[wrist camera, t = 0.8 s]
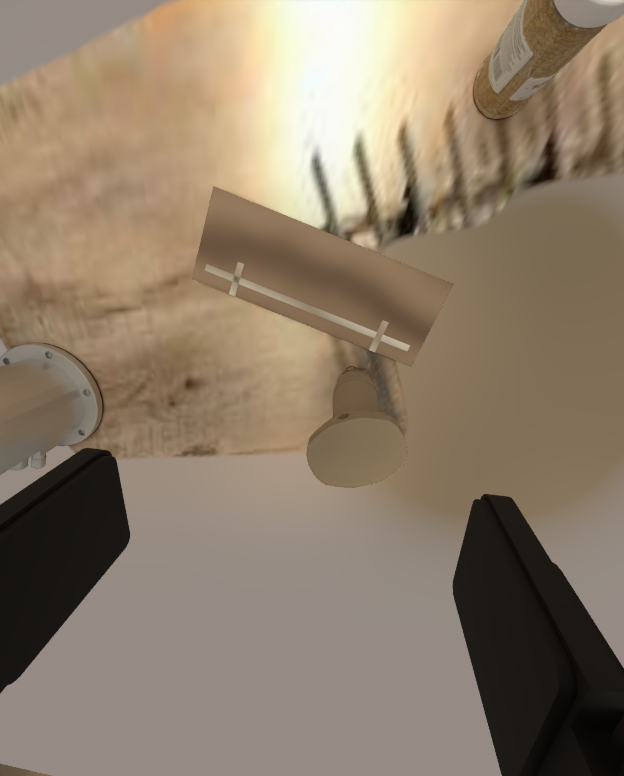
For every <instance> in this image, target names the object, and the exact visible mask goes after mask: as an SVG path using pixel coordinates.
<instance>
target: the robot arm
mask: <svg viewBox="0 0 624 776" xmlns="http://www.w3.org/2000/svg"><path fill="white" fill-rule="evenodd" d="M101 416H102V400H101V396H100V392H99V389H98V387H97V385H96V382H95V381H94V379H93V378H92V376H91V374H90V373H89V372H88V371H87V369H86V368H85V367H84V366H83V365H82V364H81V363H80V362H79V361H78V360H77V359H76V358H74V357H73V356H72V355H70V354H69V353H67V352H65V351H64V350H62V349H59V348H57V347H55V346H52V345H48V344H44V343H29V344H24V345H20V346H17V347H13V348H12V349H10V350H8V351H7V352H6V353H4V354H3V355H2V356H1V358H0V475H1V474H2V473H4V472H6V471H7V470H9V469H11V470H22V469H24V468H26V467H27V466H28V458H29V457H30V456H32V459H31V467H33V468H36V469H38V468H42V467H44V466H45V463H46V452H47V451H49V450H51V449H52V448H54V447H55V446H57V445H59V446H66V445H73V444H76V443H79V442H81V441H82V440H84V439H86V438H87V437H89V436H90V435H91V434H92V433H93V432H94V431H95V430H96V428H97V427H98V425H99V423H100V420H101ZM129 539H130V530H129V525H128V520H127V514H126V509H125V504H124V499H123V494H122V488H121V483H120V477H119V472H118V467H117V461H116V459H115V458H114V457H112V454H111V453H110V452H109V451H107V450H100V449H92V448H84V449H82V450H80V451H79V452H77V453H76V454H75V455H73V456H72V457H70V458H69V459H67V460H66V461H64V462H63V463H61V464H60V465H58V466H57V467H56V468H54V469H53V470H51V471H50V472H48V473H46V474H45V475H44V476H42V477H41V478H39V479H38V480H36V481H35V482H33V483H32V484H30V485H29V486H27V487H26V488H24V489H23V490H21V491H20V492H19V493H17V494H16V495H14V496H13V497H11V498H10V499H8V500H7V501H5V502H4V503H2V504H1V505H0V693H1V692H2V691H3V689H4V688H5V687H6V686H7V685H9V684H12V683H13V682H14V681H16V680H17V679H18V678H19V677H20V676H21V674H22V673H23V672H24V671H25V670H26V669H27V667H28V666H29V665H30V664H31V662H32V661H33V660H34V659H35V658H36V656H37V655H38V654H39V652H40V651H41V650H42V649H43V648H44V647H45V645H46V644H47V643H48V642H49V640H50V639H51V638H52V637H53V636H54V634H55V633H56V632H57V631H58V630H59V628H60V627H61V626H62V625H63V623H64V622H65V621H66V620H67V618H68V617H69V616H70V615H71V614H72V613H73V611H74V610H75V609H76V608H77V606H78V605H79V604H80V603H81V602H82V600H83V599H84V598H85V597H86V595H87V594H88V593H89V592H90V591H91V589H92V588H93V587H94V586H95V585H96V583H97V582H98V581H99V580H100V578H101V577H102V576H103V575H104V574H105V572H106V571H107V570H108V569H109V567H110V566H111V565H112V564H113V563H114V561H115V560H116V559H117V558H118V557H119V555H120V554H121V553H122V552H123V550H124V549H125V548H126V546H127V544H128V542H129ZM453 595H454V600H455V603H456V607H457V611H458V614H459V618H460V622H461V626H462V629H463V633H464V637H465V640H466V644H467V648H468V651H469V655H470V659H471V662H472V666H473V670H474V674H475V678H476V681H477V685H478V689H479V692H480V696H481V700H482V704H483V707H484V711H485V715H486V718H487V722H488V726H489V729H490V733H491V737H492V741H493V745H494V748H495V752H496V756H497V759H498V763H499V767H500V770H501V774H502V776H624V668H623V667H622V665H621V663H620V662H619V661H618V659H617V657H616V656H615V654H614V652H613V651H612V649H611V648H610V646H609V645H608V643H607V642H606V640H605V638H604V637H603V635H602V634H601V632H600V631H599V629H598V627H597V626H596V624H595V623H594V621H593V619H592V618H591V616H590V615H589V613H588V612H587V610H586V609H585V607H584V605H583V604H582V602H581V601H580V599H579V598H578V596H577V595H576V593H575V591H574V590H573V588H572V587H571V585H570V583H569V582H568V581H567V579H566V577H565V576H564V574H563V572H562V571H561V570H560V569H559V568H558V566H557V565H556V564H554V563H553V562H552V561H551V560H550V558H549V556H548V555H547V553H546V552H545V550H544V548H543V547H542V545H541V544H540V542H539V540H538V539H537V537H536V536H535V535H534V532H533V531H532V529H531V528H530V526H529V524H528V523H527V521H526V520H525V518H524V517H523V515H522V513H521V512H520V510H519V508H518V507H517V505H516V504H515V502H514V501H513V499H512V498H510V497H506V496H498V495H489V494H484V495H483V496H482V497H481V500H479V499H476V500H474V501H473V504H472V508H471V512H470V516H469V520H468V524H467V528H466V532H465V536H464V540H463V544H462V548H461V551H460V556H459V559H458V563H457V567H456V571H455V575H454V579H453ZM0 776H50V775H46V774H42V773H38V772H33V771H29V770H25V769H20V768H16V767H12V766H7V765H3V764H0Z"/></svg>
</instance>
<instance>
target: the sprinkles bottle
mask: <svg viewBox="0 0 624 776" xmlns="http://www.w3.org/2000/svg"><path fill="white" fill-rule="evenodd" d="M622 15H624V0H524V2H523V3H522V5H521V6H520V8H519V9H518V11H517V12H516V14H515V15H514V17H513V18H512V20H511V22H510V23H509V25H508V26H507V28H506V29H505V31H504V33H503V34H502V36H501V37H500V39H499V40H498V42H497V44H496V46H495V48H494V50H493V52H492V53H491V54H490V55H489V56H488V57H487V59H486V60H485V61H484V62H483V64H482V65H481V67H480V69H479V70H478V73H477V76H476V79H475V84H474V99H475V102H476V105H477V107H478V108H479V110H480V111H481V112H482V113H483V114H484V115H485V116H486V117H489V118H492V119H500V118H507V117H509V116H511V115H513V114H514V113H516V112H518V111H519V110H520V109H521V108H522V107H523V106H524V105H525V104H526V103H527V102H528V100H529V99H530V98H531V97H532V96H533V95H534V94H535V93H537V92H538V91H539V90H540V89H541V88H542V87H543V86H544V85H545V84H547V83H548V82H549V81H550V80H551V79H552V78H553V77H554V76H555V75H556V74H557V73H558V72H559V71H560V70H561V69H562V68H563V67H564V66H565V65H566V64H567V63H568V62H570V61H571V60H572V59H573V58H574V57H575V56H576V55H577V54H578V53H579V52H580V51H581V50H582V49H583V48H584V47H585V45H586V44H587V43H588V42H589V41H590V40H591V39H592V38H594V37H595V36H596V35H597V34H598V33H599V32H600V31H601V30H602V29H603V28H604V27H605V26H606V25H607V24H608V23H611V22H613V21H615V20H616V19H618V18H619V17H621V16H622Z"/></svg>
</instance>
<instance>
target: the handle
mask: <svg viewBox="0 0 624 776" xmlns="http://www.w3.org/2000/svg"><path fill="white" fill-rule="evenodd" d="M406 457H407V446H406V442H405V438H404V435H403V433H402V430H401V428H400V426H399V425H398V423H397V422H396V421H395V420H394V419H393V418H392V417H391V416H390V415H388V414H387V413H382V412H378V397H377V391H376V388H375V385H374V383H373V381H372V379H371V378H370V376H369V375H368V372H367V371H366V370H365V369H357V368H354V367H353V366H351V367H348V368H347V369H346V372H345V373H344V374H342V376H340V378H339V379H338V382H337V384H336V387H335V390H334V395H333V418H332V419H330V420H329V421H327V422H326V423H325V424H323V425H322V426H321V427H320V428H319V429H318V430H317V431H316V432H315V433H314V434H313V435H312V436H311V437H310V439H309V443H308V447H307V460H308V463H309V466H310V468H311V470H312V472H313V474H314V475H315V476H316V478H317V479H318V480H320V481H321V482H322V483H324V484H325V485H329V486H337V487H345V488H354V487H360V486H365V485H368V484H373V483H376V482H379V481H382V480H384V479H385V478H387V477H389V476H390V475H391V474H392V473H394V472H395V471H397V470H398V469H399V468H400V467H401V466H403V465H404V464H405V461H406Z"/></svg>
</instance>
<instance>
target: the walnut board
mask: <svg viewBox="0 0 624 776" xmlns="http://www.w3.org/2000/svg"><path fill="white" fill-rule="evenodd" d="M192 279H193V280H196V281H198V282H201V283H203V284H206V285H208V286H211V287H213V288H216V289H218V290H221V291H223V292H226V293H228V294H230V295H232V296H236V297H238V298H241V299H243V300H246V301H248V302H251V303H253V304H256V305H258V306H261V307H263V308H266V309H268V310H271V311H273V312H276V313H278V314H281V315H283V316H286V317H288V318H291V319H293V320H296V321H298V322H301V323H303V324H306V325H308V326H311V327H313V328H316V329H318V330H321V331H323V332H326V333H328V334H331V335H333V336H336V337H338V338H341V339H343V340H346V341H348V342H351V343H353V344H356V345H358V346H361V347H363V348H366V349H368V350H370V351H372V352H376V353H378V354H381V355H383V356H386V357H388V358H391V359H393V360H396V361H398V362H401V363H403V364H406V365H408V366H412V364H413V362H414V360H415V358H416V356H417V354H418V352H419V350H420V349H421V347H422V345H423V343H424V341H425V338H426V337H427V335H428V333H429V331H430V329H431V327H432V325H433V323H434V321H435V319H436V317H437V315H438V313H439V311H440V310H441V307H442V306H443V304H444V302H445V300H446V298H447V296H448V294H449V292H450V290H451V288H452V286H453V284H452V283H450V282H447V281H445V280H442V279H440V278H437V277H435V276H433V275H430V274H428V273H425V272H422V271H420V270H418V269H415V268H413V267H410V266H408V265H405V264H403V263H401V262H398V261H396V260H393V259H391V258H388V257H386V256H383V255H381V254H379V253H376V252H374V251H371V250H369V249H366V248H364V247H361V246H359V245H356V244H354V243H352V242H349V241H347V240H344V239H342V238H339V237H337V236H334V235H332V234H329V233H327V232H325V231H322V230H320V229H317V228H315V227H312V226H310V225H307V224H305V223H302V222H300V221H298V220H295V219H293V218H290V217H288V216H285V215H283V214H280V213H278V212H275V211H273V210H271V209H268V208H266V207H263V206H261V205H258V204H256V203H253V202H251V201H248V200H246V199H244V198H241V197H239V196H236V195H234V194H231V193H229V192H226V191H224V190H221V189H219V188H217V187H214V186H213V191H212V195H211V199H210V204H209V208H208V212H207V217H206V221H205V225H204V230H203V234H202V238H201V243H200V247H199V251H198V256H197V260H196V264H195V269H194V273H193V277H192Z"/></svg>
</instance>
